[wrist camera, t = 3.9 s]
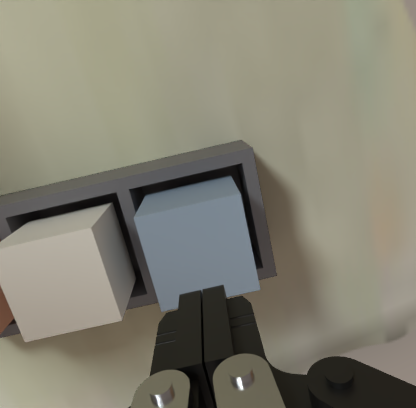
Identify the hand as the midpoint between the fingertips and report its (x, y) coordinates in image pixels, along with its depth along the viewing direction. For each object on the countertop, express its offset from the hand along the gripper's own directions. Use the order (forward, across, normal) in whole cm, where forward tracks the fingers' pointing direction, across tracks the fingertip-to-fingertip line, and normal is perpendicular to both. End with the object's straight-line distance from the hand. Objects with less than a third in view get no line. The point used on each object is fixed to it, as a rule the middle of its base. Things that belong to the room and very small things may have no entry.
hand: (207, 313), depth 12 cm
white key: (+10, +7, 0) cm, 12 cm away
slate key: (+10, 0, 0) cm, 10 cm away
